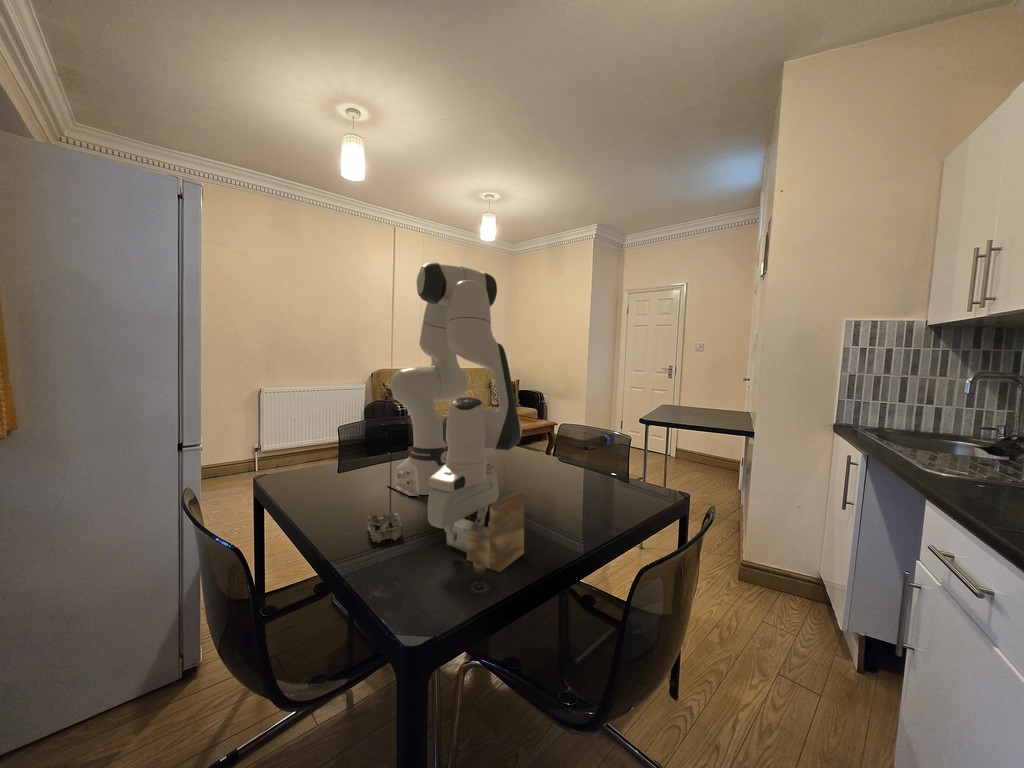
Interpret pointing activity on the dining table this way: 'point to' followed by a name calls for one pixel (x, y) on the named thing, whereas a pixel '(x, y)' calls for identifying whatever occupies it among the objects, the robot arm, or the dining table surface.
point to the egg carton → (384, 526)
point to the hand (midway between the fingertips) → (466, 532)
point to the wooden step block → (500, 535)
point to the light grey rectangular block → (463, 529)
